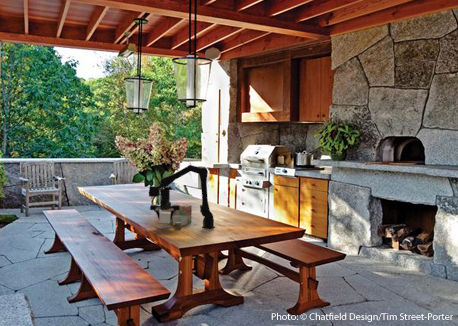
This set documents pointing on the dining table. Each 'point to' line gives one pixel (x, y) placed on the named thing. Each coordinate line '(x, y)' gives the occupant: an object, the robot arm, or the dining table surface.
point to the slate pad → (164, 227)
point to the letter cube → (177, 225)
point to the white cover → (164, 217)
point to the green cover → (180, 219)
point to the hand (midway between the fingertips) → (165, 220)
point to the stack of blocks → (182, 211)
